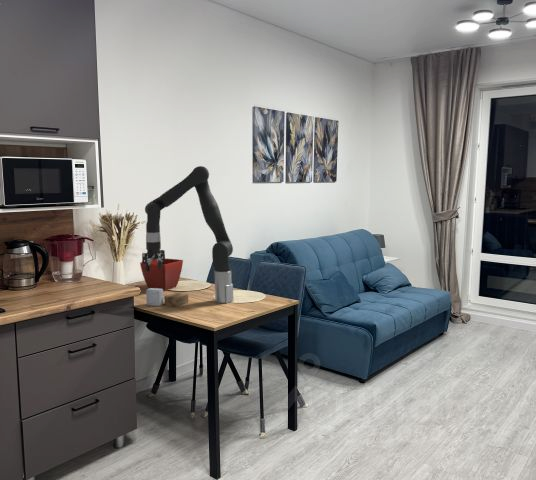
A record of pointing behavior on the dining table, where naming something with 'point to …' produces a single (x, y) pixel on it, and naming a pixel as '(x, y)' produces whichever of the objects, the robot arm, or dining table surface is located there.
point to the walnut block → (176, 299)
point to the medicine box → (154, 296)
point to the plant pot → (162, 274)
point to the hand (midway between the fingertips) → (154, 270)
